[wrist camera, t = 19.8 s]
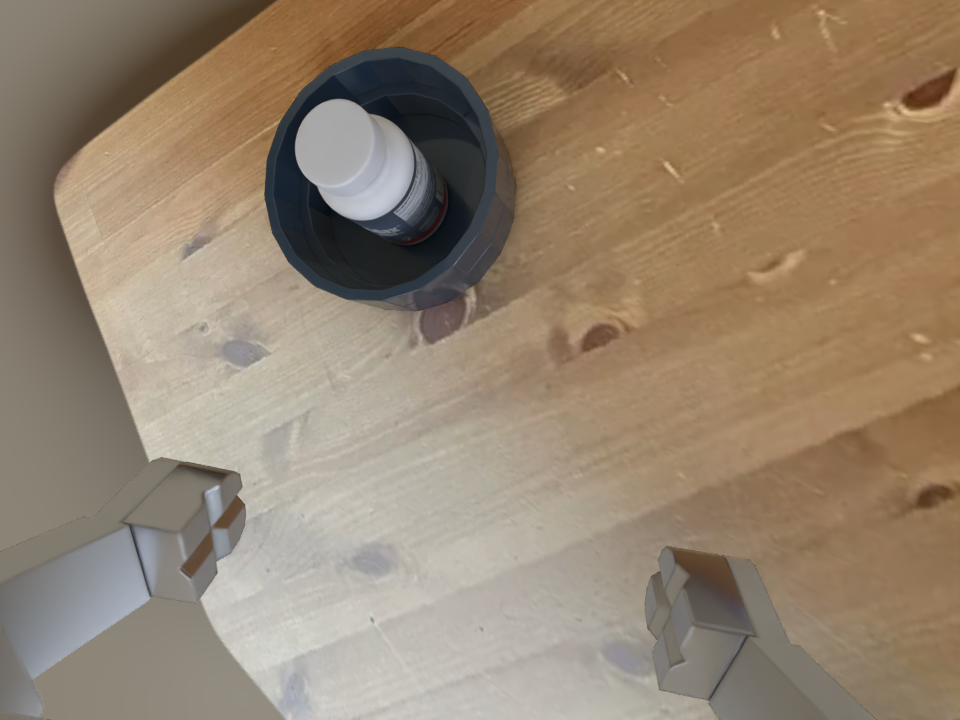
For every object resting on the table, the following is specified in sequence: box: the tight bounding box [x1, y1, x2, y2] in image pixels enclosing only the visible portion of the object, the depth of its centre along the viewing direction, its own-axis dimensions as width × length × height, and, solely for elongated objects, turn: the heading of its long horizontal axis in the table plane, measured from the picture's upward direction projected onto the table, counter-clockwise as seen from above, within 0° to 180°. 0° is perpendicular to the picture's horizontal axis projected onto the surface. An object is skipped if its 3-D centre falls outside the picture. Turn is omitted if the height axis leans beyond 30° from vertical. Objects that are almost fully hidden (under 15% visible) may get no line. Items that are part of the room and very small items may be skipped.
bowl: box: [264, 47, 516, 311], centre depth 29 cm, size 13×13×6 cm
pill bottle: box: [295, 99, 448, 245], centre depth 27 cm, size 5×5×9 cm
